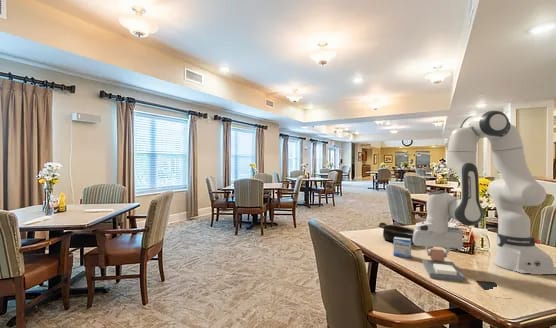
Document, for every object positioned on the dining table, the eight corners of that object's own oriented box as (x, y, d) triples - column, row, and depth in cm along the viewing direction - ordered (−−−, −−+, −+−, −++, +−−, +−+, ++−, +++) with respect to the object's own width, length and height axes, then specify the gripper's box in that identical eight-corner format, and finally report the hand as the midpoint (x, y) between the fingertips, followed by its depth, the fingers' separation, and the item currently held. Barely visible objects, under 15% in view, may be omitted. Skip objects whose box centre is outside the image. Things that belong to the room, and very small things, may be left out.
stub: (441, 257, 132) (441, 248, 132) (444, 261, 128) (444, 252, 128) (429, 256, 134) (429, 247, 134) (431, 259, 129) (431, 251, 129)
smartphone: (489, 296, 99) (474, 279, 113) (489, 298, 99) (474, 281, 113) (513, 299, 97) (494, 281, 111) (513, 300, 98) (494, 283, 111)
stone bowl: (370, 239, 169) (371, 224, 170) (390, 235, 186) (390, 221, 186) (413, 248, 151) (413, 231, 151) (430, 243, 168) (431, 227, 168)
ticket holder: (452, 266, 128) (452, 258, 128) (464, 281, 112) (464, 272, 112) (422, 263, 131) (423, 255, 131) (430, 277, 115) (430, 269, 115)
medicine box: (393, 255, 142) (393, 238, 142) (394, 253, 146) (394, 236, 146) (410, 258, 138) (410, 240, 138) (411, 255, 142) (411, 238, 142)
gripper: (461, 226, 130) (460, 256, 131) (412, 223, 137) (411, 251, 137) (465, 229, 124) (465, 261, 125) (414, 226, 131) (413, 256, 131)
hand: (436, 256), depth 131 cm, fingers closed on stub, 5 cm apart
